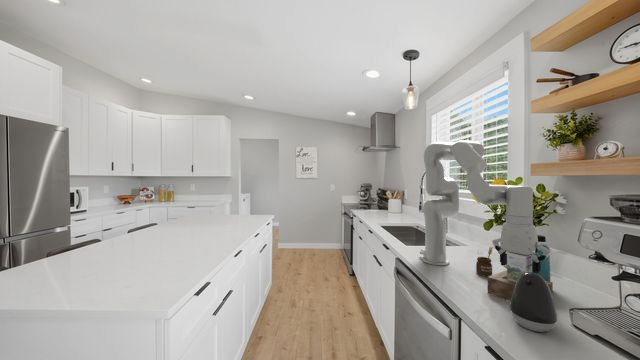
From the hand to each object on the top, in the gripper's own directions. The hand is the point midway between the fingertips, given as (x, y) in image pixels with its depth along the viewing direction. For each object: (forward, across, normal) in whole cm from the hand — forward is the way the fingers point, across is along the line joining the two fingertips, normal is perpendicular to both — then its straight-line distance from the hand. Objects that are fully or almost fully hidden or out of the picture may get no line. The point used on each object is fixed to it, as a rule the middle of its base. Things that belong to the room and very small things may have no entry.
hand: (519, 268), depth 92 cm
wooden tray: (+10, 0, 0) cm, 10 cm away
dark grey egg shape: (+10, +11, -19) cm, 24 cm away
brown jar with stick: (+10, -18, +12) cm, 24 cm away
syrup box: (+9, 0, 0) cm, 9 cm away
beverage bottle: (+10, 0, +16) cm, 19 cm away
